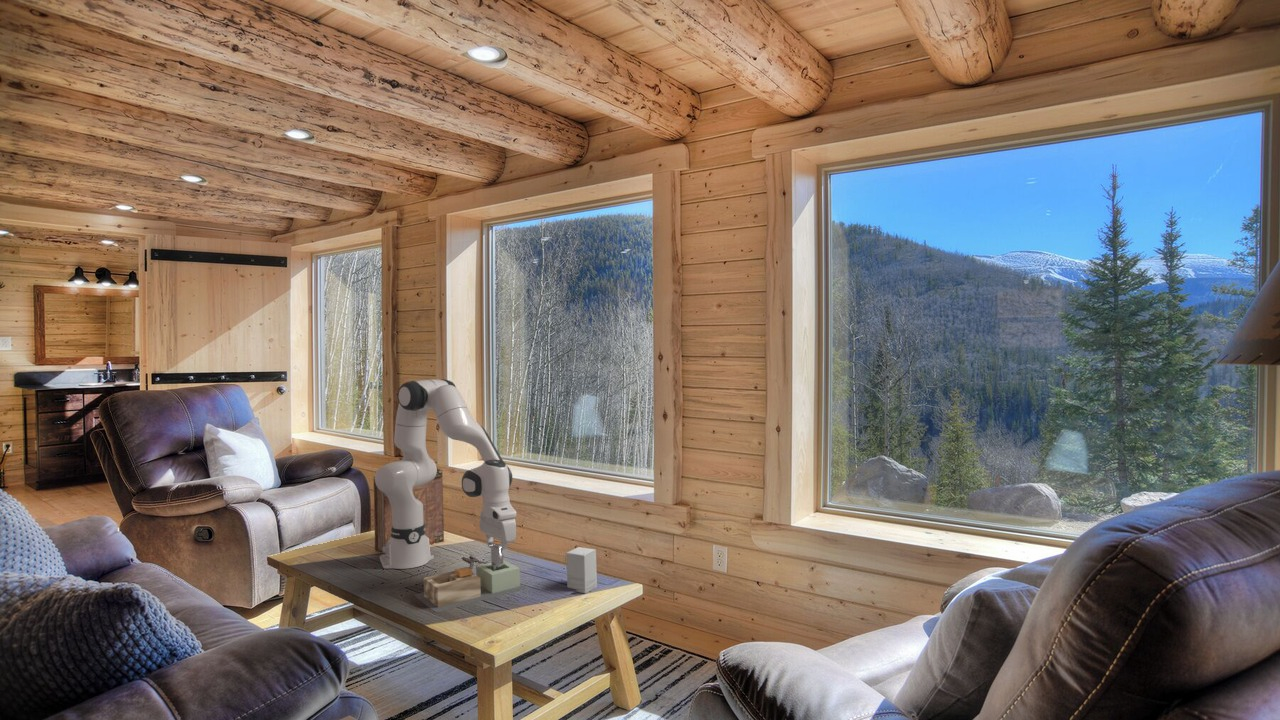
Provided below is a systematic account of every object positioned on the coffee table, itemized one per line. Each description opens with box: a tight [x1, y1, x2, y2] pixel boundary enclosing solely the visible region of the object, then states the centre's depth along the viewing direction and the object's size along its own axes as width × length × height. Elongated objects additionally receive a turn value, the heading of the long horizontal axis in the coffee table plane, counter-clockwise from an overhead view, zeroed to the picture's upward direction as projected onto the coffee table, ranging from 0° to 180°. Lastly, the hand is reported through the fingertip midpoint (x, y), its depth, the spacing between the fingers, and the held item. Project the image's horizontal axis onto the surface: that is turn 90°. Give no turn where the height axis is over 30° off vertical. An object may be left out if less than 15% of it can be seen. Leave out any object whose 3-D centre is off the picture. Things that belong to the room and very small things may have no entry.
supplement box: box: [565, 546, 598, 594], centre depth 224 cm, size 7×7×13 cm
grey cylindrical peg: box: [490, 543, 505, 571], centre depth 227 cm, size 4×4×12 cm
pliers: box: [462, 555, 488, 570], centre depth 251 cm, size 10×1×20 cm
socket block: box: [423, 570, 481, 607], centre depth 217 cm, size 12×14×6 cm
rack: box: [475, 559, 521, 593], centre depth 226 cm, size 12×10×6 cm
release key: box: [454, 566, 473, 577], centre depth 219 cm, size 4×4×6 cm
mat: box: [414, 583, 529, 613], centre depth 221 cm, size 19×31×1 cm, turn 128°
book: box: [373, 468, 445, 554], centre depth 276 cm, size 25×9×30 cm, turn 135°
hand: (497, 550), depth 226 cm, fingers open, 8 cm apart
